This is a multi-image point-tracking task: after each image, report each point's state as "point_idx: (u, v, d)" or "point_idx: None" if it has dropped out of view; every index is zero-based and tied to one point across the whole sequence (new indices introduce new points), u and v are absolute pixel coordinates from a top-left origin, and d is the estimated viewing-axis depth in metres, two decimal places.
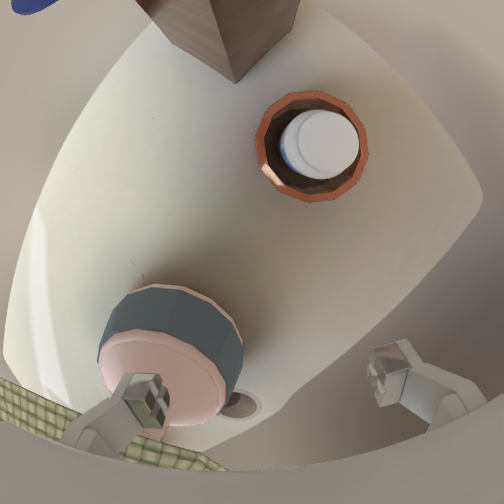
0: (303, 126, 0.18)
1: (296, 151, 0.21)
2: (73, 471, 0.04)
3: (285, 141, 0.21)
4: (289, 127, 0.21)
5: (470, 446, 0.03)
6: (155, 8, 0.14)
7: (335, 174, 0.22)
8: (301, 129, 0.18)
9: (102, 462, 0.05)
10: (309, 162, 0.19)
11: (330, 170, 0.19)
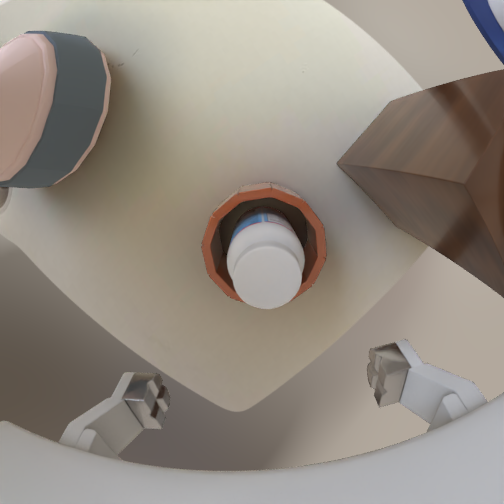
0: (283, 251, 0.18)
1: (255, 239, 0.20)
2: (73, 471, 0.04)
3: (267, 225, 0.20)
4: (283, 230, 0.20)
5: (470, 446, 0.03)
6: (441, 100, 0.13)
7: (233, 279, 0.21)
8: (280, 249, 0.18)
9: (102, 462, 0.05)
10: (242, 258, 0.18)
11: (235, 280, 0.18)
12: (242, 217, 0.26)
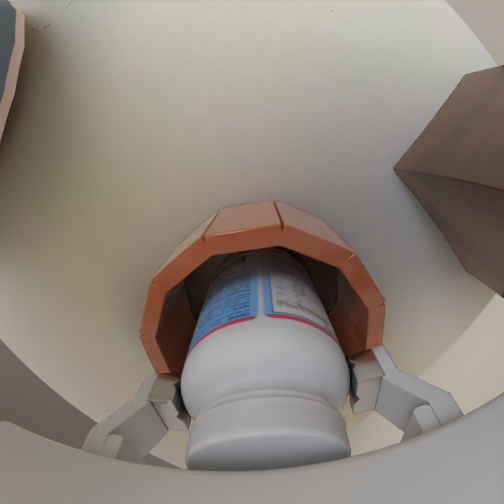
0: (316, 437, 0.05)
1: (241, 372, 0.07)
2: (73, 471, 0.04)
3: (270, 333, 0.08)
4: (311, 343, 0.08)
5: (470, 446, 0.03)
6: None
7: None
8: (307, 434, 0.05)
9: (102, 462, 0.05)
10: (202, 446, 0.05)
11: None
12: (221, 272, 0.14)
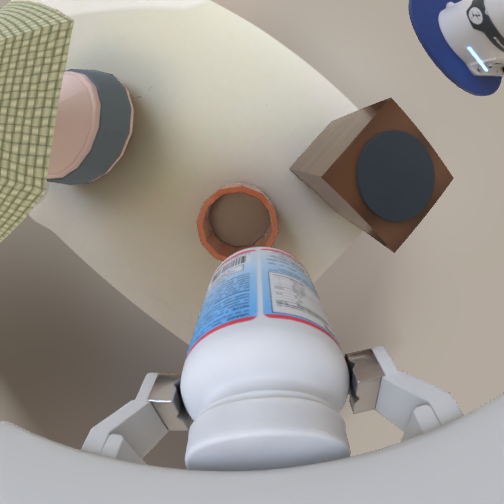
0: (315, 438, 0.05)
1: (241, 373, 0.07)
2: (73, 471, 0.04)
3: (270, 334, 0.08)
4: (310, 343, 0.08)
5: (470, 446, 0.03)
6: (345, 125, 0.27)
7: None
8: (306, 434, 0.05)
9: (102, 462, 0.05)
10: (202, 446, 0.05)
11: None
12: (221, 272, 0.14)
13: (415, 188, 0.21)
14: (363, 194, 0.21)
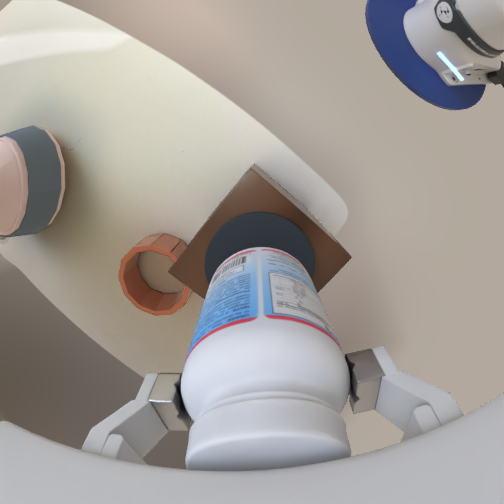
0: (316, 439, 0.05)
1: (241, 374, 0.07)
2: (73, 471, 0.04)
3: (270, 335, 0.08)
4: (311, 344, 0.08)
5: (470, 446, 0.03)
6: None
7: None
8: (307, 436, 0.05)
9: (102, 462, 0.05)
10: (202, 447, 0.05)
11: None
12: (221, 273, 0.14)
13: None
14: None
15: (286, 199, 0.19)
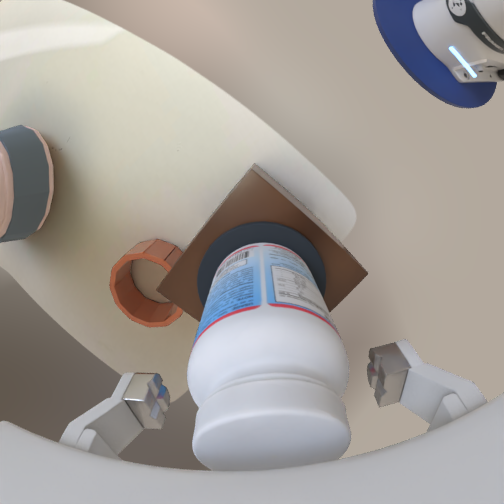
0: (317, 417, 0.06)
1: (246, 358, 0.08)
2: (73, 471, 0.04)
3: (273, 321, 0.08)
4: (312, 330, 0.08)
5: (470, 446, 0.03)
6: None
7: None
8: (309, 414, 0.06)
9: (102, 462, 0.05)
10: (210, 427, 0.06)
11: (198, 454, 0.06)
12: (225, 267, 0.14)
13: None
14: None
15: (294, 206, 0.16)
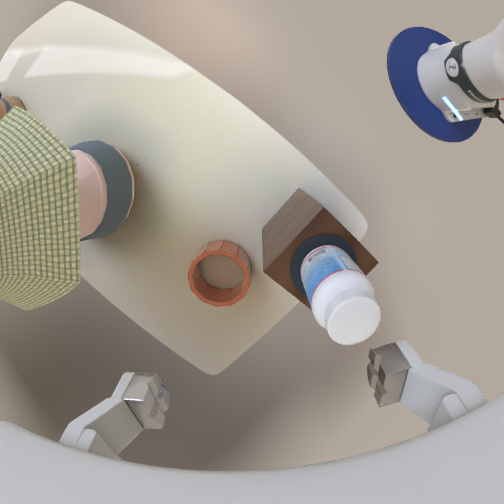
0: (371, 300, 0.20)
1: (343, 287, 0.22)
2: (73, 471, 0.04)
3: (350, 274, 0.23)
4: (363, 277, 0.22)
5: (470, 446, 0.03)
6: (297, 212, 0.37)
7: (317, 318, 0.24)
8: (368, 299, 0.20)
9: (102, 462, 0.05)
10: (339, 307, 0.20)
11: (330, 324, 0.21)
12: (313, 257, 0.28)
13: None
14: (294, 283, 0.32)
15: (342, 226, 0.30)
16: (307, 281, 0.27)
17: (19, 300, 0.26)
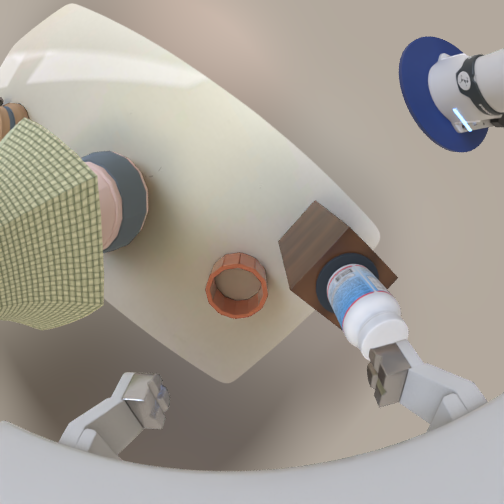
0: (401, 322, 0.20)
1: (374, 309, 0.22)
2: (73, 471, 0.04)
3: (381, 296, 0.23)
4: (392, 299, 0.23)
5: (470, 446, 0.03)
6: (318, 228, 0.38)
7: (349, 338, 0.24)
8: (399, 320, 0.20)
9: (102, 462, 0.05)
10: (373, 329, 0.20)
11: (364, 345, 0.21)
12: (341, 276, 0.29)
13: None
14: (319, 300, 0.32)
15: (366, 245, 0.30)
16: (336, 301, 0.27)
17: (36, 322, 0.26)
